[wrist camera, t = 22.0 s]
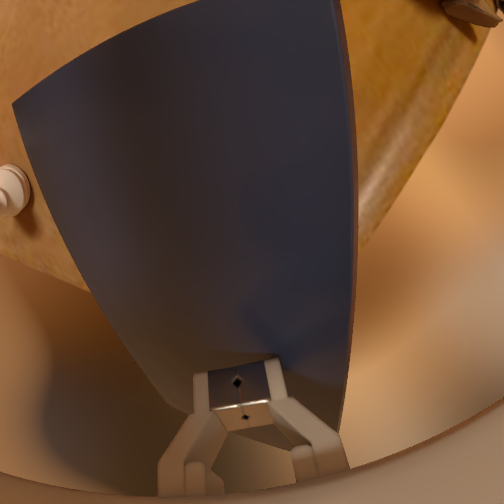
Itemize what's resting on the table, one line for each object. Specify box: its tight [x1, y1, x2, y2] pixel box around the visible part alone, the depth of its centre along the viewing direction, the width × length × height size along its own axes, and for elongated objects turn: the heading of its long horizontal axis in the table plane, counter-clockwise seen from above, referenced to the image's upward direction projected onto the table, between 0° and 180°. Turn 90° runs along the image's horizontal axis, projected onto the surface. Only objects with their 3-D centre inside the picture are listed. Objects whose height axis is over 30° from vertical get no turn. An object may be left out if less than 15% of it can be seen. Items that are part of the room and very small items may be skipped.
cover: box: [12, 0, 358, 451], centre depth 12 cm, size 12×22×1 cm
